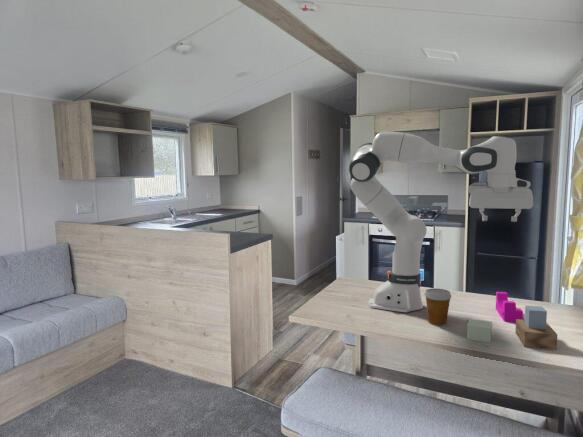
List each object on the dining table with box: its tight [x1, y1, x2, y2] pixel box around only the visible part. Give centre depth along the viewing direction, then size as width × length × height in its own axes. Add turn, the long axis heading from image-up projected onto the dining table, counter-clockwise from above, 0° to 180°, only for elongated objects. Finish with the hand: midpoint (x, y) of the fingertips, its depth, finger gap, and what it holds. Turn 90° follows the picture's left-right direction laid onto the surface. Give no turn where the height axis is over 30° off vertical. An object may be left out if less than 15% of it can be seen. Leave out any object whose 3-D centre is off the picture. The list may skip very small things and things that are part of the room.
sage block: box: [466, 318, 493, 344], centre depth 136 cm, size 7×7×5 cm
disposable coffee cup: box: [424, 287, 452, 326], centre depth 150 cm, size 10×10×12 cm
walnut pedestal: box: [515, 319, 558, 351], centre depth 132 cm, size 9×12×5 cm
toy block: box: [495, 291, 524, 323], centre depth 157 cm, size 15×6×8 cm, turn 164°
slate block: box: [524, 305, 548, 329], centre depth 132 cm, size 5×5×6 cm
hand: (499, 221), depth 143 cm, fingers open, 8 cm apart
